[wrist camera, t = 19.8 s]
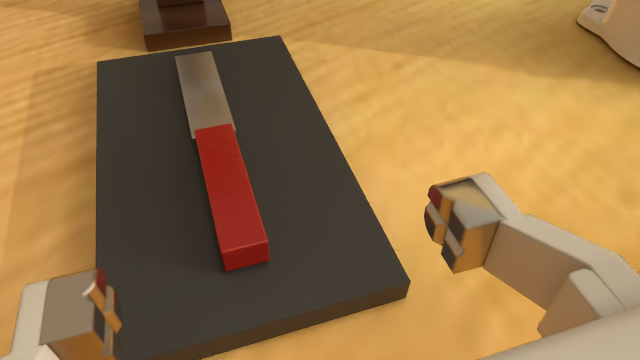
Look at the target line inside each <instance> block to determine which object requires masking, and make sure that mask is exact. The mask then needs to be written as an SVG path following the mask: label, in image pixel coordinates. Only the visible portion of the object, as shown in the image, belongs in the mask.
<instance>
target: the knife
mask: <svg viewBox="0 0 640 360" xmlns="http://www.w3.org/2000/svg"><path fill="white" fill-rule="evenodd" d="M175 59H176V64H177V69H178V74H179V78H180V83H181V88H182V93H183V97H184V102H185V107H186V112H187V116H188V121H189V126H190V131H191V135H192V140H193V142H197V147H198V152H199V156H200V161H201V165H202V170H203V175H204V179H205V184H206V188H207V193H208V197H209V202H210V207H211V211H212V216H213V220H214V225H215V230H216V234H217V239H218V243H219V248H220V252H221V257H222V261H223V265H224V270H225V271H226V272H228V271H232V270H235V269H239V268H243V267H247V266H251V265H255V264H258V263H262V262H266V261H269V260H270V253H269V244H268V239H267V235H266V232H265V229H264V226H263V223H262V219H261V216H260V213H259V210H258V206H257V203H256V200H255V197H254V194H253V190H252V187H251V184H250V181H249V177H248V174H247V171H246V168H245V164H244V161H243V158H242V155H241V152H240V148H239V145H238V142H237V139H236V135H235V134H237V133H236V128H235V125H234V122H233V119H232V115H231V112H230V109H229V106H228V103H227V100H226V96H225V93H224V90H223V87H222V84H221V81H220V77H219V74H218V71H217V68H216V65H215V62H214V58H213V55H212V52H211V51H208V52H201V53H194V54H187V55H180V56H175Z"/></svg>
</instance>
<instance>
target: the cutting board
mask: <svg viewBox="0 0 640 360" xmlns="http://www.w3.org/2000/svg"><path fill="white" fill-rule="evenodd" d="M208 51H211V52H212V55H213V58H214V62H215V65H216V68H217V71H218V74H219V77H220V81H221V84H222V87H223V90H224V93H225V96H226V100H227V103H228V106H229V109H230V112H231V115H232V119H233V122H234V125H235V128H236V133H237V134H235V135H236V139H237V142H238V145H239V148H240V152H241V155H242V158H243V161H244V164H245V168H246V171H247V174H248V177H249V181H250V184H251V187H252V190H253V194H254V197H255V200H256V203H257V206H258V210H259V213H260V216H261V219H262V223H263V226H264V229H265V232H266V235H267V239H268V244H269V253H270V260H269V261H266V262H262V263H258V264H255V265H251V266H247V267H243V268H239V269H235V270H232V271H228V272H226V271H225V270H224V265H223V261H222V257H221V252H220V248H219V243H218V239H217V234H216V230H215V225H214V220H213V216H212V211H211V207H210V202H209V197H208V193H207V188H206V184H205V179H204V175H203V170H202V165H201V161H200V156H199V152H198V147H197V142H193V140H192V135H191V131H190V126H189V121H188V116H187V112H186V107H185V102H184V97H183V93H182V88H181V83H180V78H179V74H178V69H177V64H176V59H175V56H180V55H187V54H194V53H201V52H208ZM96 268H102V270H103V271H104V273H105V274H106V276H107V283H106V284H107V285H109V286H112V287H114V289H115V290H116V292H117V294H118V297H119V300H120V304H121V310H122V326H121V328H120V329H119V331H118V332H117V336H118V337H119V339H120V340H121V342H122V360H199V359H202V358H206V357H209V356H212V355H216V354H219V353H222V352H226V351H229V350H232V349H236V348H239V347H242V346H246V345H249V344H252V343H256V342H259V341H262V340H266V339H269V338H272V337H276V336H279V335H282V334H286V333H289V332H292V331H296V330H299V329H302V328H306V327H309V326H312V325H316V324H319V323H322V322H326V321H329V320H332V319H336V318H339V317H342V316H346V315H349V314H352V313H356V312H359V311H362V310H366V309H369V308H373V307H376V306H379V305H383V304H386V303H389V302H393V301H396V300H399V299H403V298H405V297H406V295H407V292H408V288H409V285H410V280H409V278H408V276H407V274H406V272H405V270H404V268H403V267H402V265H401V263H400V261H399V259H398V257H397V255H396V253H395V251H394V250H393V248H392V246H391V244H390V242H389V240H388V238H387V236H386V234H385V233H384V231H383V229H382V227H381V225H380V223H379V221H378V219H377V217H376V216H375V214H374V212H373V210H372V208H371V206H370V204H369V202H368V200H367V199H366V197H365V195H364V193H363V191H362V189H361V187H360V185H359V183H358V182H357V180H356V178H355V176H354V174H353V172H352V170H351V168H350V167H349V165H348V163H347V161H346V159H345V157H344V155H343V153H342V151H341V150H340V148H339V146H338V144H337V142H336V140H335V138H334V136H333V134H332V133H331V131H330V129H329V127H328V125H327V123H326V121H325V119H324V117H323V116H322V114H321V112H320V110H319V108H318V106H317V104H316V102H315V100H314V99H313V97H312V95H311V93H310V91H309V89H308V87H307V85H306V83H305V82H304V80H303V78H302V76H301V74H300V72H299V70H298V68H297V66H296V65H295V63H294V61H293V59H292V57H291V55H290V53H289V51H288V50H287V48H286V46H285V44H284V42H283V40H282V38H281V36H280V35H279V36H272V37H265V38H258V39H251V40H244V41H237V42H230V43H223V44H216V45H209V46H202V47H196V48H189V49H182V50H175V51H168V52H161V53H154V54H147V55H140V56H133V57H126V58H119V59H112V60H106V61H99V62H97V150H96Z"/></svg>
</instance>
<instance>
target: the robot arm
mask: <svg viewBox="0 0 640 360" xmlns="http://www.w3.org/2000/svg"><path fill="white" fill-rule="evenodd" d="M577 21H578V23H579V24H580V25H582V26H583V27H585V28H586V29H588V30H590V31H591V32H593V33H595V34H597V35H599V36H600V37H601V38H603V39H604V40H605V41H606V42H607V43H608V45H609V46H610V47H611V48H612V49H613V50H614V51H615V52H617V53H618V54H619V55H620V56H622V57H623V58H624V59H626V60H627V61H629V62H630V63H632V64H634V65H635V66H637V67H639V68H640V0H594V1H593V2H592V3H590V4H589V5H588V6H587V7H586V8H584V9H583V11H582V12H581V14H580V16H579V17H578V19H577ZM428 197H429V199H430V200H431V202H430V203H429V204H428V205H427V206H426V207H425V213H424V219H425V225H426V228H427V231H428V233H429V235H430V237H431V238H432V240H433V241H434V242H436V243H438V244H440V245H441V246H442V252H441V255H442V256H443V258H444V260H445V261H446V263H447V264H448V266H449V268H450V269H451V271H452V272H453V274H455V273H459V272H463V271H467V270H471V269H475V268H478V267H482V266H483V268H484V269H485V270H487V271H488V272H489V273H491V274H492V275H494V276H495V277H497V278H498V279H500V280H501V281H503V282H504V283H506V284H507V285H509V286H510V287H512V288H513V289H515V290H516V291H518V292H519V293H521V294H522V295H524V296H525V297H527V298H528V299H530V300H531V301H533V302H534V303H536V304H537V305H539V306H540V307H541V308H543V309H544V310H546V312H545V314H544V316H543V317H542V319H541V321H540V322H539V324H538V327H537V330H538V332H539V333H540V335H541V336H542V338H540V339H537V340H534V341H531V342H528V343H525V344H522V345H519V346H516V347H513V348H510V349H507V350H504V351H501V352H498V353H495V354H492V355H489V356H486V357H483V358H480V359H477V360H640V275H639V274H638V273H637V272H636V271H635V270H634V269H633V268H632V267H631V266H630V265H629V264H628V263H627V262H626V261H625V259H624V258H623V257H622V256H620V255H618V254H616V253H614V252H611V251H609V250H607V249H605V248H603V247H601V246H598V245H596V244H594V243H592V242H590V241H587V240H585V239H583V238H581V237H579V236H577V235H574V234H572V233H570V232H568V231H566V230H563V229H561V228H559V227H557V226H555V225H553V224H550V223H548V222H546V221H544V220H542V219H539V218H537V217H535V216H533V215H531V214H525V215H524V214H523V213H522V212H521V211H520V210H519V209H518V207H517V206H516V205H515V204H514V203H513V201H512V200H511V199H510V198H509V197H508V196H507V194H506V193H505V192H504V191H503V190H502V189H501V187H500V186H499V185H498V184H497V183H496V181H495V180H494V179H493V178H492V177H491V176H490V175H489V174H488V173H486V172H483V173H479V174H475V175H471V176H467V177H462V178H458V179H454V180H450V181H446V182H442V183H439V184H435V185H432V186H431V187H430V188H429V192H428ZM106 283H107V276H106V274H105V273H104V271H103V270H102V268H95V269H91V270H86V271H82V272H77V273H73V274H68V275H63V276H59V277H54V278H51V279H46V280H42V281H38V282H33V283H29V284H26V286H25V287H24V289H23V291H22V293H21V298H20V303H19V308H18V314H17V319H16V324H15V329H14V334H13V340H12V345H11V350H10V354H7V355H4V356H2V357H1V358H0V360H122V342H121V340H120V339H119V337H118V336H117V332H118V331H119V329H120V328H121V326H122V310H121V304H120V300H119V297H118V294H117V292H116V290H115V289H114V287H112V286H109V285H107V284H106Z"/></svg>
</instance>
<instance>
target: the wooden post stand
mask: <svg viewBox="0 0 640 360" xmlns="http://www.w3.org/2000/svg"><path fill="white" fill-rule="evenodd" d="M139 5H140V12H141V20H142V28H143V36H144V39H145V43H146V46H147V50H148V51H156V50H163V49H170V48H177V47H184V46H191V45H198V44H205V43H212V42H219V41H226V40H232V34H231V26H230V22H229V20H228V17H227V15H226V12H225V9H224V7H223V4H222V2H221V0H139Z"/></svg>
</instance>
